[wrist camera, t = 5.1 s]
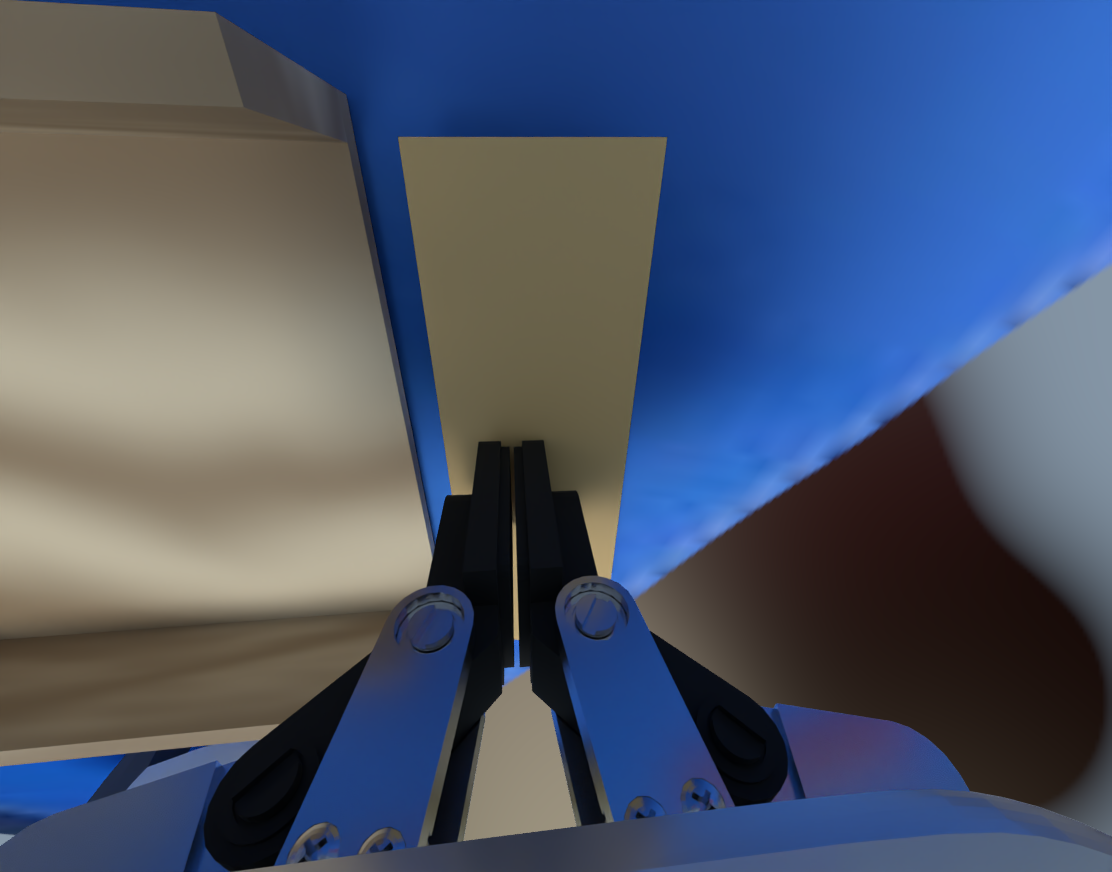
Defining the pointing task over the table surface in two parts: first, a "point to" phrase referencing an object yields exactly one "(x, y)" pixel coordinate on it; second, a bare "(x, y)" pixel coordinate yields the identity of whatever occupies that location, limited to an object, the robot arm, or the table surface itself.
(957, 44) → the table surface
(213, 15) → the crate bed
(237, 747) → the giant panda
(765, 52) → the table surface
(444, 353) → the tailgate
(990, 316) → the table surface
